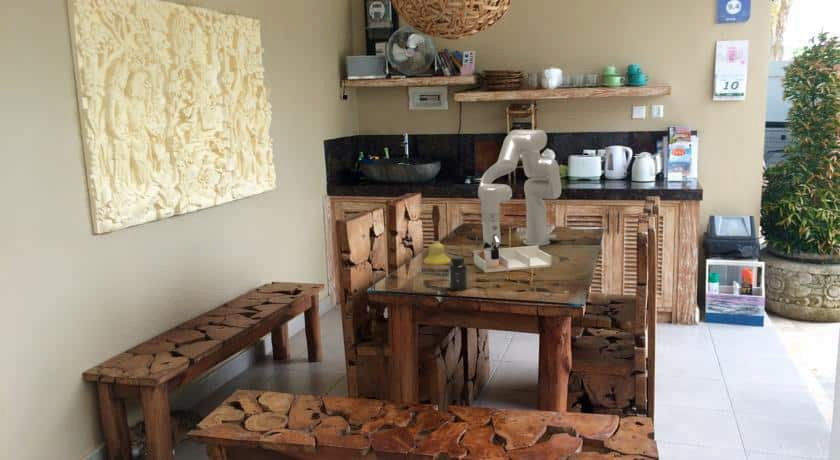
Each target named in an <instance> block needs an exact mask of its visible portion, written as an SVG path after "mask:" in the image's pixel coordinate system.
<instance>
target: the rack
mask: <svg viewBox="0 0 840 460" xmlns="http://www.w3.org/2000/svg"><path fill="white" fill-rule="evenodd" d="M539 247H540V246H538V245H537V246H531V245H526V246H517V247H515V246H513V247H503V248H500V257H499V266H495V267H489V266H486V261H485V256H484V249H480V250H473V265H474V266H475V267H477V268H478V269H479V270H481V271H482V272H483V273H485V274H486V273H496V272H504V271H505V272H507V271H517V270H528V269H529V270H530V269H540V268H548V267H549V268H550V267H552V255H550V254H549V253H546V252H545V251H543V250H540V248H539Z"/></svg>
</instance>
